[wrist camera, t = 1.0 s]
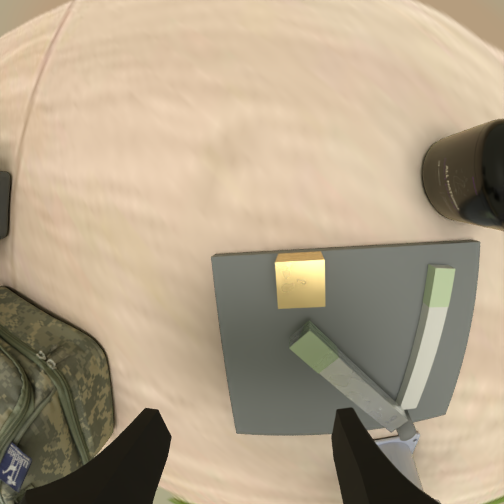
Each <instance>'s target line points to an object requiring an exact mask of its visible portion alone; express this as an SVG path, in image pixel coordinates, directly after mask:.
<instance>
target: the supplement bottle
mask: <svg viewBox="0 0 504 504" xmlns="http://www.w3.org/2000/svg"><path fill="white" fill-rule="evenodd" d="M423 182H424V187H425V191H426V193H427V196H428V198H429V200H430V202H431V203H432V205H433V206H434V208H435V209H436V210H437V211H438V212H439V213H440V214H442V215H443V216H445V217H446V218H449V219H451V220H455V221H459V222H464V223H469V224H473V225H478V226H483V227H487V228H492V229H496V230H501V231H504V119H497V120H493V121H490V122H487V123H484V124H481V125H478V126H476V127H473V128H470V129H467V130H464V131H462V132H459V133H456V134H453V135H451V136H448V137H446V138H443V139H441V140H439V141H437V142H436V143H435V144H434V145H433V146H432V147H431V148H430V149H429V151H428V153H427V155H426V157H425V160H424V165H423Z"/></svg>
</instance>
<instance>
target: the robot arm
mask: <svg viewBox="0 0 504 504" xmlns="http://www.w3.org/2000/svg"><path fill="white" fill-rule="evenodd" d="M419 437H420V434H419V433H418V432H417V433H416V434H415V436H414V437H413V438H411V439H409V440H407V441H401V440H400V438H399V436H397V437H392V438H386V439H380V440H373V439H372V437H371V436H370V434H369V433H368V431H367V430H366V428H365V427H364V425H363V424H362V422H361V420H360V419H359V417H358V415H357V414H356V412H355V410H354V408H352V407H349V408H342V409H336V415H335V421H334V426H333V431H332V447H333V457H334V462H335V467H336V471H337V476H338V480H339V485H340V489H341V494H342V499H343V504H441V503H440V501H439V500H436V499H435V500H434V498H431V497H430V496H429V495H427V494H426V493H425V492H424V491H423V488H422V485H421V481H420V478H419V475H418V471H417V468H416V465H415V462H414V459H413V456H412V454H413V451H414V449H415V447H416V444H417V442H418V440H419ZM170 442H171V435H170V433H169V431H168V429H167V427H166V425H165V423H164V421H163V419H162V417H161V414H160V412H159V410H157V409H150V408H145V409H144V410H143V411H142V412H141V413H140V414H139V415H138V416H137V417H136V418H135V419H134V421H133V422H132V423H131V424H130V425H129V426H128V427H127V428H126V429H125V430H124V431H123V432H122V433H121V434H120V435H119V436H118V437H117V438H116V439H115V440H114V441H113V442H112V443H111V444H110V445H109V446H107V447H106V448H105V449H104V450H103V451H102V452H101V453H99V454H98V455H97V456H96V457H94V458H93V459H92V460H90V461H89V462H88V463H86V464H85V465H83V466H82V467H80V468H79V469H77V470H75V471H74V472H72V473H70V474H68V475H66V476H64V477H62V478H60V479H58V480H56V481H53V482H51V483H48V484H46V485H43V486H39V487H36V488H32V489H28V490H26V492H25V494H24V496H23V498H22V499H21V501H20V503H19V504H153V499H154V496H155V492H156V489H157V487H158V484H159V481H160V478H161V475H162V472H163V469H164V466H165V463H166V460H167V457H168V453H169V448H170Z"/></svg>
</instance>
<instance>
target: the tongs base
mask: <svg viewBox="0 0 504 504" xmlns="http://www.w3.org/2000/svg"><path fill="white" fill-rule="evenodd" d="M316 251H321V253H322V255H323V257H324V260H325V307H310V308H288V309H278V301H277V285H276V270H275V261H276V259H277V256H278V254H280V253H298V252H316ZM479 257H480V242H479V241H476V240H460V241H442V242H424V243H406V244H388V245H370V246H352V247H334V248H316V249H298V250H280V251H262V252H244V253H226V254H215V255H213V256H212V257H211V261H212V270H213V279H214V287H215V295H216V303H217V311H218V319H219V326H220V334H221V341H222V348H223V355H224V362H225V368H226V375H227V381H228V387H229V393H230V400H231V406H232V411H233V417H234V423H235V428H236V433H237V434H252V435H321V434H332V431H333V426H334V421H335V415H336V409H342V408H349V407H352V408H354V410H355V412H356V414H357V415H358V417H359V419H360V420H361V422H362V424H363V425H364V427H365V428H366V430H373V429H379V428H385V427H384V426H382V425H381V424H380V423H378V422H377V421H376V420H375V419H373V418H372V417H371V416H370V415H368V414H367V413H366V412H365V411H364V410H362V409H361V408H360V407H359V406H357V405H356V404H355V403H354V402H353V401H351V400H350V399H349V398H348V397H346V396H345V395H344V394H343V393H342V392H340V391H339V390H338V389H337V388H336V387H335V386H333V385H332V384H331V383H330V382H329V381H327V380H326V379H325V378H324V377H323V376H322V375H320V374H318V373H317V372H316V371H315V370H313V369H312V368H311V367H310V366H309V365H308V364H307V363H305V362H304V361H303V360H302V359H301V358H300V357H299V356H297V355H296V354H295V353H294V352H293V351H292V350H291V349H289V342H290V337H291V336H292V335H293V334H294V333H295V332H297V331H298V330H299V329H300V328H301V327H302V326H303V325H305V324H306V323H307V322H308V321H309V320H310V321H311V322H312V323H313V324H314V325H315V326H316V327H317V328H318V329H319V330H320V331H321V332H322V333H323V334H324V335H325V336H326V337H328V338H329V339H330V340H331V341H332V342H333V343H334V344H335V345H336V346H337V348H338V349H339V350H340V351H341V352H342V353H343V354H345V355H346V356H347V357H348V358H349V359H350V360H351V361H352V362H353V363H354V364H355V365H356V366H357V367H358V368H359V369H361V370H362V371H363V372H364V373H365V374H366V375H367V376H368V377H369V378H370V379H371V380H372V381H373V382H375V383H376V384H377V385H378V386H379V387H380V388H381V389H382V390H383V391H384V392H385V393H386V394H387V395H389V396H390V397H391V398H392V399H393V400H394V401H395V402H396V403H397V404H398V405H399V406H400V407H402V408H403V409H404V411H405V414H406V416H407V419H408V421H407V422H406V423H404V424H403V425H401V426H400V427H399V428H397V432H398V435H399V438H400V440H401V441H407V440H409V439H411V438H413V437H414V436H415V434H416V429H415V427H414V424H413V422H417V421H421V420H426V419H430V418H434V417H438V416H441V415H445V414H446V411H447V409H448V406H449V403H450V401H451V398H452V395H453V392H454V389H455V386H456V383H457V379H458V376H459V373H460V369H461V366H462V362H463V358H464V354H465V350H466V346H467V342H468V337H469V332H470V327H471V322H472V317H473V311H474V304H475V297H476V290H477V281H478V271H479Z"/></svg>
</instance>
